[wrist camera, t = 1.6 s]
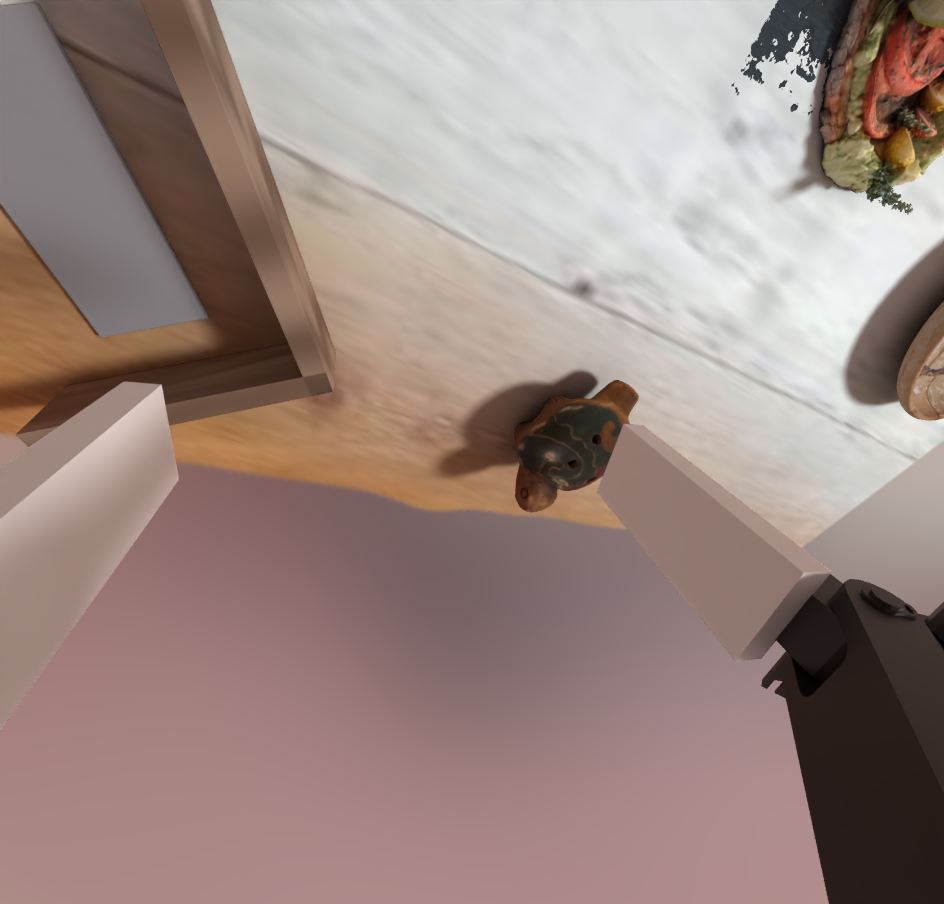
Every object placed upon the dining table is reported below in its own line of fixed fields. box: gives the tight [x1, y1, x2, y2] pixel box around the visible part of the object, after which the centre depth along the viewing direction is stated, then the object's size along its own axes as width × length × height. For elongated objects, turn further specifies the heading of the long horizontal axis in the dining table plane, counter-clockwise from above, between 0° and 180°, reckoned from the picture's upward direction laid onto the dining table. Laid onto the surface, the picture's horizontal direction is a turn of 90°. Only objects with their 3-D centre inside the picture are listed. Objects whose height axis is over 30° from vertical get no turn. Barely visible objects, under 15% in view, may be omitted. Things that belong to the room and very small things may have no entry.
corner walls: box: [16, 0, 336, 447], centre depth 23 cm, size 20×19×6 cm
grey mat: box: [0, 3, 209, 338], centre depth 23 cm, size 15×7×1 cm, turn 6°
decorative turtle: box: [514, 380, 639, 512], centre depth 40 cm, size 10×15×8 cm, turn 138°
